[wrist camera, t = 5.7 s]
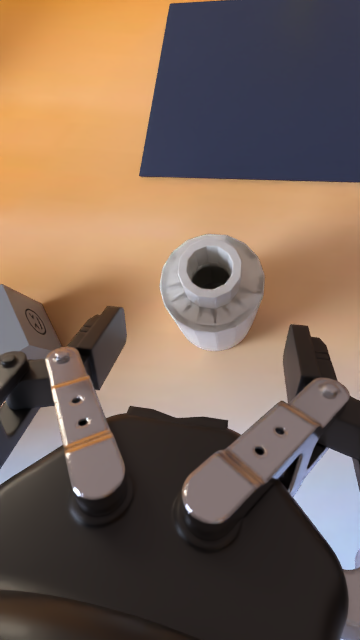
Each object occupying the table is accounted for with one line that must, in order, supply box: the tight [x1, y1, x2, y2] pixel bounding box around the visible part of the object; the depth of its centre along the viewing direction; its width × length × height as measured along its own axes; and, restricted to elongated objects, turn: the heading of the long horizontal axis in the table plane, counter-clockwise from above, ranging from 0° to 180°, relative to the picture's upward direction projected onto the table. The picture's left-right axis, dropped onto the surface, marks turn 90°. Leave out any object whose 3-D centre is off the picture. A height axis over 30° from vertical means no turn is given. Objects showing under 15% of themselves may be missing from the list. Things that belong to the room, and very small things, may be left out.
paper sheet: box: [139, 0, 360, 182], centre depth 29 cm, size 20×20×1 cm
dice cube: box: [0, 284, 62, 360], centre depth 24 cm, size 5×5×5 cm
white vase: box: [160, 234, 265, 351], centre depth 20 cm, size 6×6×10 cm
